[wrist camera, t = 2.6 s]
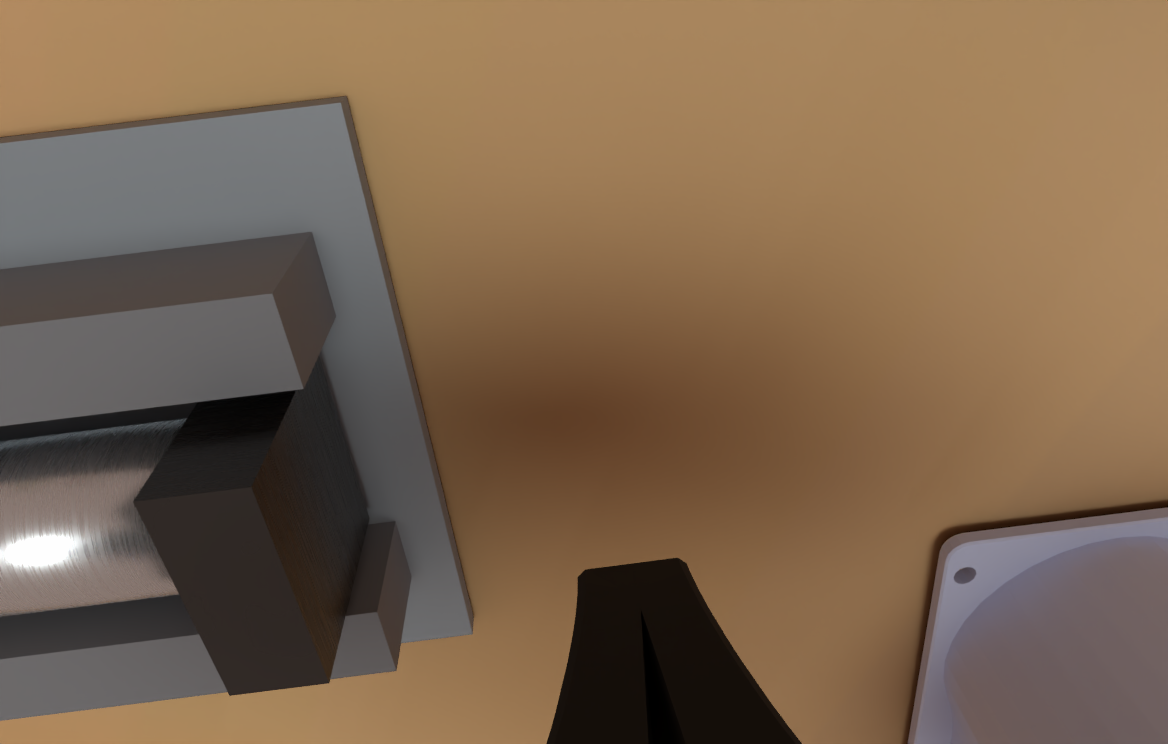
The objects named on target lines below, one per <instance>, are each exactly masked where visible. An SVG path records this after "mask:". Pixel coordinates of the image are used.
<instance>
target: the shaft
mask: <svg viewBox="0 0 1168 744" xmlns="http://www.w3.org/2000/svg"><path fill="white" fill-rule="evenodd" d="M369 519H370V518H369V515H368V511H367V508H366V505H365V502H364V499H363V495H362V492H361V489H360V486H359V482H358V479H357V476H356V473H355V470H354V466H353V463H352V460H351V457H350V453H349V450H348V447H347V444H346V440H345V437H344V434H343V431H342V428H341V424H340V421H339V418H338V415H337V411H336V408H335V405H334V402H333V398H332V395H331V392H330V389H329V386H328V382H327V379H326V376H325V373H324V369H323V366H322V363H321V360H320V357H319V356H318V358H317V361H316V363H315V365H314V367H313V369H312V372H311V374H310V376H309V378H308V381H307V383H306V385H305V387H304V389H300V390H292V391H284V392H276V393H267V394H259V395H251V396H243V397H235V398H227V399H219V400H211V401H202V402H198V403H197V404H196V406H195V407H194V409H193V410H192V412H191V413H190V415H189V416H188V418H184V419H176V420H168V421H160V422H152V423H143V424H135V425H127V426H119V427H111V428H103V429H95V430H87V431H78V432H70V433H62V434H54V435H46V436H38V437H30V438H22V439H13V440H5V441H0V617H4V616H12V615H20V614H28V613H36V612H44V611H52V610H60V609H68V608H76V607H84V606H92V605H100V604H108V603H116V602H124V601H132V600H140V599H148V598H156V597H164V596H172V595H180V597H181V599H182V601H183V603H184V605H185V607H186V609H187V611H188V613H189V615H190V617H191V619H192V621H193V623H194V625H195V627H196V629H197V631H198V633H199V635H200V637H201V639H202V641H203V643H204V645H205V647H206V649H207V651H208V653H209V655H210V657H211V659H212V661H213V663H214V665H215V667H216V669H217V671H218V673H219V675H220V677H221V679H222V681H223V683H224V685H225V687H226V689H227V691H228V693H229V695H230V696H231V695H238V694H246V693H254V692H262V691H270V690H278V689H286V688H294V687H302V686H310V685H318V684H326V683H329V682H330V678H331V674H332V669H333V665H334V661H335V657H336V653H337V649H338V645H339V641H340V637H341V633H342V629H343V625H344V621H345V617H346V612H347V608H348V604H349V600H350V596H351V592H352V588H353V584H354V580H355V576H356V572H357V568H358V564H359V560H360V555H361V551H362V547H363V543H364V539H365V535H366V531H367V527H368V523H369Z"/></svg>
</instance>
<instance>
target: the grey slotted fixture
mask: <svg viewBox="0 0 1168 744" xmlns="http://www.w3.org/2000/svg"><path fill="white" fill-rule="evenodd" d="M318 356H319V357H320V360H321V363H322V366H323V369H324V373H325V376H326V379H327V382H328V386H329V389H330V392H331V395H332V398H333V402H334V405H335V408H336V411H337V415H338V418H339V421H340V424H341V428H342V431H343V434H344V437H345V440H346V444H347V447H348V450H349V453H350V457H351V460H352V463H353V466H354V470H355V473H356V476H357V479H358V482H359V486H360V489H361V492H362V495H363V499H364V502H365V505H366V508H367V511H368V515H369V518H370V519H369V523H368V527H367V531H366V535H365V539H364V543H363V547H362V551H361V555H360V560H359V564H358V568H357V572H356V576H355V580H354V584H353V588H352V592H351V596H350V600H349V604H348V608H347V612H346V617H345V621H344V625H343V629H342V633H341V637H340V641H339V645H338V649H337V653H336V657H335V661H334V665H333V669H332V674H331V678H330V679H335V678H343V677H351V676H359V675H367V674H375V673H383V672H391V671H396V670H397V664H398V658H399V652H400V646H401V643H406V642H414V641H422V640H430V639H438V638H446V637H454V636H462V635H470V634H473V621H474V617H473V613H472V609H471V605H470V600H469V596H468V592H467V588H466V584H465V580H464V576H463V572H462V568H461V563H460V559H459V555H458V551H457V547H456V543H455V539H454V535H453V531H452V527H451V522H450V518H449V514H448V510H447V506H446V502H445V498H444V494H443V490H442V486H441V481H440V477H439V473H438V469H437V465H436V461H435V457H434V453H433V449H432V444H431V440H430V436H429V432H428V428H427V424H426V420H425V416H424V412H423V408H422V403H421V399H420V395H419V391H418V387H417V383H416V379H415V375H414V371H413V366H412V362H411V358H410V354H409V350H408V346H407V342H406V338H405V334H404V330H403V325H402V321H401V317H400V313H399V309H398V305H397V301H396V297H395V293H394V288H393V284H392V280H391V276H390V272H389V268H388V264H387V260H386V256H385V252H384V247H383V243H382V239H381V235H380V231H379V227H378V223H377V219H376V215H375V211H374V206H373V202H372V198H371V194H370V190H369V186H368V182H367V178H366V174H365V169H364V165H363V161H362V157H361V153H360V149H359V145H358V141H357V137H356V133H355V128H354V124H353V120H352V116H351V112H350V108H349V104H348V100H347V96H343V97H335V98H327V99H318V100H310V101H302V102H293V103H285V104H277V105H268V106H260V107H252V108H243V109H235V110H227V111H218V112H210V113H202V114H193V115H185V116H176V117H168V118H160V119H151V120H143V121H135V122H126V123H118V124H110V125H101V126H93V127H85V128H76V129H68V130H60V131H51V132H43V133H35V134H26V135H18V136H10V137H1V138H0V441H5V440H13V439H22V438H30V437H38V436H46V435H54V434H62V433H70V432H78V431H87V430H95V429H103V428H111V427H119V426H127V425H135V424H143V423H152V422H160V421H168V420H176V419H184V418H188V416H189V415H190V413H191V412H192V410H193V409H194V407H195V406H196V404H197V403H198V402H202V401H211V400H219V399H227V398H235V397H243V396H251V395H259V394H267V393H276V392H284V391H292V390H300V389H304V387H305V385H306V383H307V381H308V378H309V376H310V374H311V372H312V369H313V367H314V365H315V363H316V361H317V358H318ZM224 692H228V691H227V689H226V687H225V685H224V683H223V681H222V679H221V677H220V675H219V673H218V671H217V669H216V667H215V665H214V663H213V661H212V659H211V657H210V655H209V653H208V651H207V649H206V647H205V645H204V643H203V641H202V639H201V637H200V635H199V633H198V631H197V629H196V627H195V625H194V623H193V621H192V619H191V617H190V615H189V613H188V611H187V609H186V607H185V605H184V603H183V601H182V599H181V597H180V595H172V596H164V597H156V598H148V599H140V600H132V601H124V602H116V603H108V604H100V605H92V606H84V607H76V608H68V609H60V610H52V611H44V612H36V613H28V614H20V615H12V616H4V617H0V721H2V720H10V719H18V718H26V717H34V716H41V715H49V714H57V713H65V712H73V711H81V710H89V709H97V708H105V707H113V706H121V705H129V704H137V703H145V702H153V701H161V700H168V699H176V698H184V697H192V696H200V695H208V694H216V693H224Z"/></svg>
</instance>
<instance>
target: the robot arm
mask: <svg viewBox="0 0 1168 744" xmlns="http://www.w3.org/2000/svg"><path fill="white" fill-rule="evenodd" d="M962 568H963V569H962ZM960 569H962V570H960ZM547 744H802V743H801V742H800V741H799V739H798V738H797V737H796V735H795V734H794V733H793V732H792V730H791V729H790V728H789V727H788V725H787V724H786V723H785V721H784V720H783V719H782V717H781V716H780V714H779V713H778V712H777V710H776V709H775V708H774V706H773V705H772V704H771V702H770V701H769V700H768V698H767V697H766V695H765V694H764V692H763V691H762V689H761V688H760V687H759V685H758V684H757V682H756V681H755V679H754V678H753V677H752V675H751V674H750V672H749V671H748V669H747V668H746V666H745V665H744V664H743V662H742V661H741V659H740V658H739V656H738V655H737V653H736V652H735V650H734V649H733V647H732V645H731V644H730V642H729V641H728V639H727V638H726V636H725V634H724V633H723V631H722V629H721V628H720V626H719V624H718V623H717V621H716V620H715V618H714V616H713V615H712V613H711V611H710V609H709V608H708V606H707V604H706V602H705V600H704V599H703V597H702V595H701V593H700V591H699V589H698V587H697V585H696V583H695V581H694V579H693V577H692V575H691V573H690V571H689V568H688V566H687V564H686V563H685V562H683V561H682V560H680V559H679V558H672V559H665V560H657V561H649V562H641V563H634V564H626V565H618V566H610V567H602V568H595V569H587V570H585V571H584V572H583V573H582V574H581V575H579V576H578V596H577V608H576V617H575V624H574V631H573V637H572V642H571V647H570V653H569V658H568V663H567V667H566V672H565V676H564V680H563V684H562V688H561V692H560V696H559V701H558V705H557V709H556V713H555V717H554V720H553V724H552V728H551V731H550V734H549V737H548V741H547ZM908 744H1168V507H1167V508H1159V509H1151V510H1143V511H1135V512H1127V513H1119V514H1111V515H1103V516H1095V517H1087V518H1079V519H1071V520H1063V521H1055V522H1047V523H1039V524H1031V525H1023V526H1015V527H1007V528H999V529H991V530H983V531H975V532H967V533H961V534H957V535H954V536H953V537H951V538H949V539H948V540H947V541H946V542H945V543H944V544H943V545H942V547H941V550H940V552H939V558H938V564H937V570H936V576H935V582H934V588H933V594H932V600H931V606H930V612H929V618H928V624H927V630H926V636H925V642H924V648H923V654H922V660H921V666H920V672H919V678H918V684H917V690H916V696H915V702H914V708H913V714H912V720H911V726H910V732H909V738H908Z"/></svg>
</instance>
